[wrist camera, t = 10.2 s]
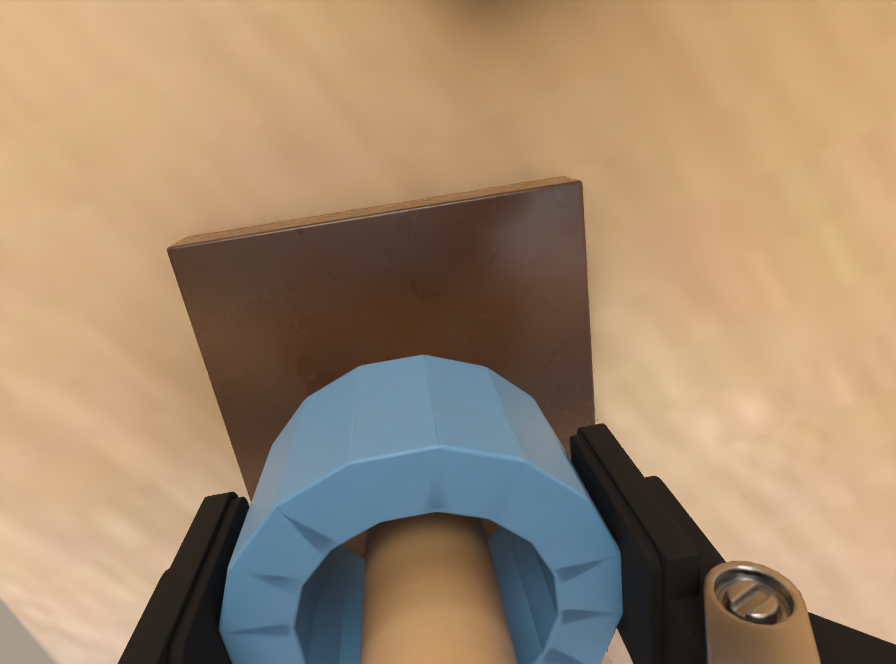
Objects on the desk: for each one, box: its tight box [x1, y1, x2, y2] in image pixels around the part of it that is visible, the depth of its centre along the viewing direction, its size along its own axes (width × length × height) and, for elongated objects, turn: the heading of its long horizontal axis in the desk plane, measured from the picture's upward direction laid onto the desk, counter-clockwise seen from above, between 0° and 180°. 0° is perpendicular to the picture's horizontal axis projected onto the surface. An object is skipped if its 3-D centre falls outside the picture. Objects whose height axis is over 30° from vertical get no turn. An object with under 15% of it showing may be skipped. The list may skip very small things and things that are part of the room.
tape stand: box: [167, 176, 612, 664], centre depth 15 cm, size 22×11×11 cm, turn 8°
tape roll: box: [219, 355, 623, 664], centre depth 11 cm, size 7×7×4 cm
